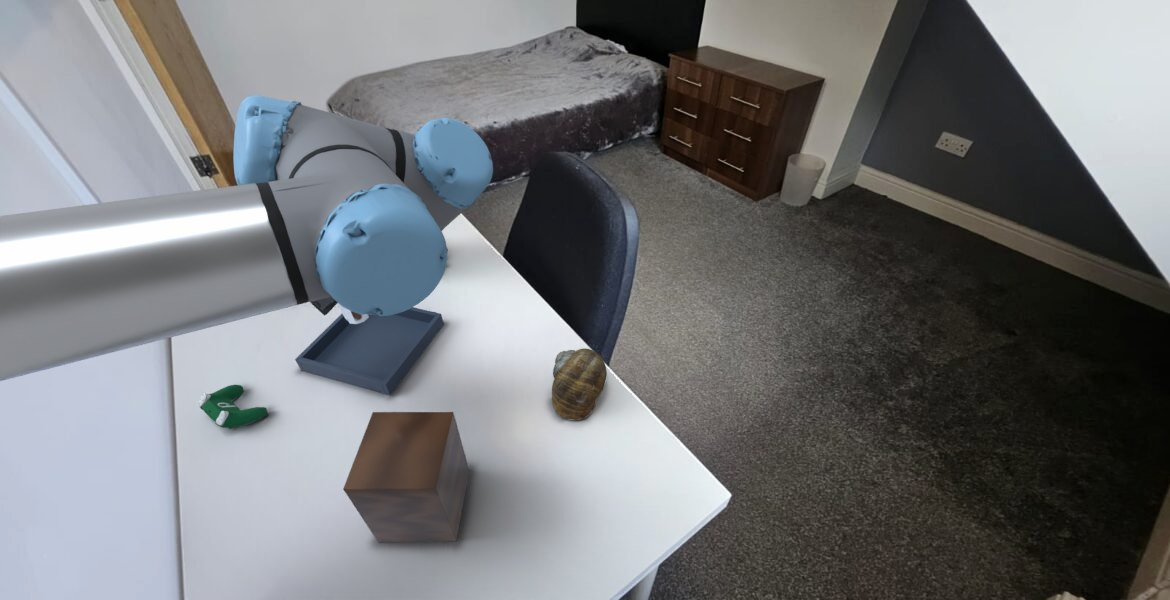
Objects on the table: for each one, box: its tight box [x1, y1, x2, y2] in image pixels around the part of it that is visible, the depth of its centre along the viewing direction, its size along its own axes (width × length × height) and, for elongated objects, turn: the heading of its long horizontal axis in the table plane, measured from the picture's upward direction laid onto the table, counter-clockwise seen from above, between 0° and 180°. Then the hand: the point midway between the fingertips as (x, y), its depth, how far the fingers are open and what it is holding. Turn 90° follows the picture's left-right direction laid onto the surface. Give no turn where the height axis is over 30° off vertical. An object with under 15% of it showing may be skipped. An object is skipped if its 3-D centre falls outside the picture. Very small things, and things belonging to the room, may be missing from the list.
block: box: [342, 411, 470, 543], centre depth 59 cm, size 10×10×14 cm
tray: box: [294, 306, 445, 396], centre depth 84 cm, size 18×18×3 cm
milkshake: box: [336, 303, 369, 324], centre depth 65 cm, size 4×5×10 cm
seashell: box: [551, 347, 608, 421], centre depth 76 cm, size 11×9×8 cm
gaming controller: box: [198, 384, 269, 430], centre depth 73 cm, size 9×4×6 cm
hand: (334, 296), depth 68 cm, fingers closed on milkshake, 5 cm apart
